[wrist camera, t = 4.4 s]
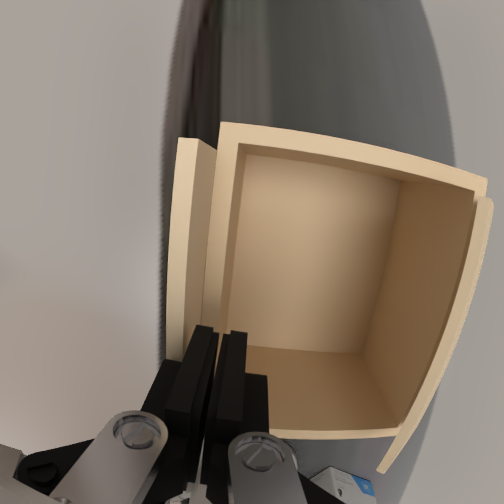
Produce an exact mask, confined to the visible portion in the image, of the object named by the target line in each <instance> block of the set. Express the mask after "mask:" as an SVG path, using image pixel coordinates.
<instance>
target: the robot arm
mask: <svg viewBox="0 0 504 504" xmlns="http://www.w3.org/2000/svg"><path fill="white" fill-rule="evenodd" d="M213 330H214V327H209V326H203V325H197V324H196V326H195V329H194V332H193V334H192V337H191V339H190V342H189V345H188V347H187V350H186V352H185V355H184V358H183V360H182V362H179V361H174V360H169V359H164V361H163V363H162V365H161V367H160V369H159V371H158V373H157V376H156V378H155V380H154V382H153V384H152V386H151V389H150V391H149V393H148V395H147V397H146V400H145V401H144V404H143V406H142V408H141V410H140V411H126V412H122V413H120V414H117V415H115V416H114V417H113V418H112V419H111V420H110V421H109V422H108V423H107V424H106V426H105V427H104V428H103V429H102V431H101V432H100V433H99V434H98V436H97V437H96V438H95V439H91V440H87V441H84V442H80V443H76V444H72V445H68V446H63V447H59V448H55V449H51V450H46V451H41V452H36V453H33V454H30V455H28V456H27V455H23V453H22V451H21V450H18V449H15V448H11V447H8V446H5V445H2V444H0V504H169V503H170V501H172V502H177V501H181V500H185V499H187V498H190V501H189V504H346V503H344V502H343V501H341V500H339V499H338V498H336V497H335V496H333V495H332V494H330V493H328V492H327V491H325V490H324V489H322V488H321V487H319V486H318V485H316V484H315V483H313V482H312V481H311V480H309V479H308V478H306V477H305V476H303V475H302V474H300V473H299V472H298V471H297V468H298V467H297V458H296V454H295V453H294V451H293V450H292V448H291V447H290V446H289V445H288V444H286V443H285V442H284V441H283V440H281V439H280V438H278V437H276V436H274V435H272V434H269V405H268V379H267V375H261V374H253V373H246V372H245V368H246V353H247V337H248V333H247V332H241V331H234V330H231V331H230V334H224V333H223V337H222V342H221V347H220V352H219V356H218V361H217V366H216V371H215V365H216V358H217V350H218V342H219V333H218V332H213ZM214 373H215V376H214Z"/></svg>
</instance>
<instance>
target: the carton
mask: <svg viewBox="0 0 504 504" xmlns="http://www.w3.org/2000/svg"><path fill="white" fill-rule="evenodd" d="M487 180H488V179H486V178H484V177H481V176H478V175H475V174H472V173H469V172H466V171H463V170H460V169H457V168H454V167H451V166H448V165H445V164H441V163H438V162H435V161H431V160H428V159H424V158H421V157H417V156H413V155H410V154H406V153H402V152H398V151H394V150H390V149H386V148H382V147H378V146H373V145H369V144H364V143H360V142H355V141H350V140H345V139H340V138H335V137H330V136H325V135H319V134H313V133H307V132H301V131H295V130H288V129H281V128H274V127H266V126H258V125H249V124H240V123H230V122H221V125H220V133H219V141H218V149H217V157H216V165H215V174H214V183H213V192H212V201H211V211H210V221H209V231H208V242H207V253H206V265H205V277H204V290H203V304H202V318H201V325H203V326H209V327H214V330H213V332H218V333H219V342H218V350H217V358H216V365H215V371H216V366H217V361H218V356H219V352H220V347H221V342H222V337H223V333H224V334H230V331H231V330H234V331H241V332H247V333H248V337H247V353H246V368H245V372H246V373H253V374H261V375H267V379H268V405H269V434H272V435H274V436H276V437H278V438H286V439H356V438H374V437H386V436H397V434H398V433H399V431H400V429H401V427H402V425H403V423H404V421H405V420H406V418H407V416H408V414H409V412H410V410H411V408H412V406H413V404H414V402H415V400H416V398H417V396H418V393H419V391H420V389H421V387H422V385H423V383H424V380H425V378H426V376H427V374H428V371H429V369H430V367H431V364H432V362H433V359H434V357H435V355H436V352H437V349H438V347H439V344H440V342H441V339H442V336H443V334H444V331H445V328H446V325H447V322H448V319H449V317H450V314H451V310H452V307H453V304H454V301H455V298H456V295H457V291H458V288H459V284H460V281H461V277H462V273H463V270H464V266H465V262H466V258H467V254H468V249H469V245H470V240H471V236H472V231H473V226H474V220H475V215H476V209H477V203H478V197H479V196H483V197H485V195H486V188H487ZM214 376H215V373H214Z"/></svg>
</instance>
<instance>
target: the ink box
mask: <svg viewBox="0 0 504 504" xmlns="http://www.w3.org/2000/svg"><path fill="white" fill-rule="evenodd" d="M310 480H311V481H312V482H313V483H315V484H316V485H318V486H319V487H321V488H322V489H324V490H325V491H327V492H328V493H330V494H332V495H333V496H335V497H336V498H338V499H339V500H341V501H343V502H344V503H346V504H377V503H376V499H375V496H374V492H373V489H372V486H371V483H370V481H367V480H364V479H361V478H359V477H356V476H353V475H351V474H348V473H345V472H343V471H340V470H338V469H335V468H333V467H328V468H327V469H325V470H324V471H322V472H321V473H319V474H317V475H316V476H314V477H313V478H311V479H310Z"/></svg>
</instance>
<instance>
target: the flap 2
mask: <svg viewBox="0 0 504 504" xmlns="http://www.w3.org/2000/svg"><path fill="white" fill-rule="evenodd" d="M493 210H494V204H493V202H492V200H491V199H490V198H486V197H483V196H479V197H478V203H477V209H476V215H475V220H474V226H473V231H472V236H471V240H470V245H469V249H468V254H467V258H466V262H465V266H464V270H463V273H462V277H461V281H460V284H459V288H458V291H457V295H456V298H455V301H454V304H453V307H452V310H451V314H450V317H449V319H448V322H447V325H446V328H445V331H444V334H443V336H442V339H441V342H440V344H439V347H438V349H437V352H436V355H435V357H434V359H433V362H432V364H431V367H430V369H429V371H428V374H427V376H426V378H425V380H424V383H423V385H422V387H421V389H420V391H419V393H418V396H417V398H416V400H415V402H414V404H413V406H412V408H411V410H410V412H409V414H408V416H407V418H406V420H405V421H404V423H403V425H402V427H401V429H400V431H399V433H398V434H397V436H396V438H395V440H394V441H393V443H392V445H391V447H390V448H389V450H388V452H387V453H386V455H385V457H384V458H383V460H382V462H381V463H380V465H379V466H378V468H377V469H376V471H378V472H380V473H382V474H384V473H385V472H386V471H387V469H388V468H389V467H390V465H391V464H392V463H393V461H394V460H395V458H396V457H397V456H398V454H399V453H400V451H401V450H402V448H403V447H404V446H405V444H406V443H407V441H408V440H409V438H410V437H411V435H412V434H413V432H414V430H415V429H416V427H417V426H418V424H419V422H420V420H421V418H422V417H423V415H424V413H425V411H426V409H427V407H428V405H429V403H430V401H431V399H432V397H433V395H434V393H435V391H436V389H437V387H438V385H439V383H440V381H441V379H442V376H443V374H444V372H445V370H446V367H447V365H448V363H449V361H450V358H451V356H452V353H453V351H454V348H455V346H456V343H457V341H458V338H459V336H460V333H461V330H462V327H463V325H464V322H465V319H466V316H467V313H468V310H469V307H470V304H471V301H472V298H473V295H474V291H475V288H476V285H477V281H478V278H479V274H480V270H481V266H482V262H483V258H484V254H485V250H486V245H487V241H488V237H489V231H490V227H491V221H492V216H493Z"/></svg>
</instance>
